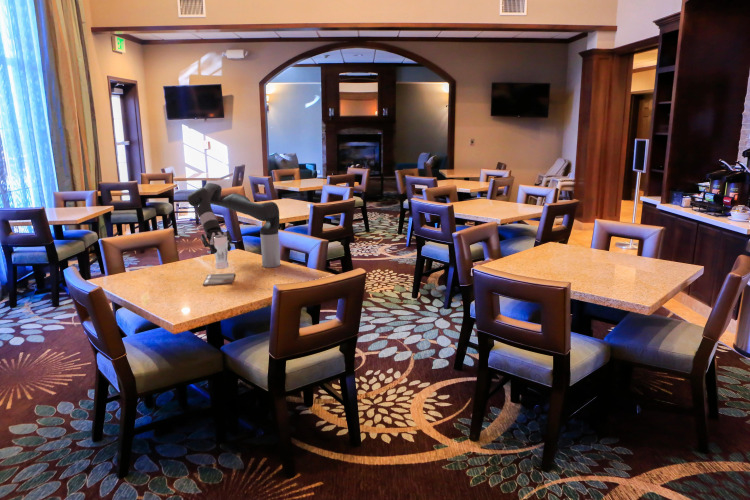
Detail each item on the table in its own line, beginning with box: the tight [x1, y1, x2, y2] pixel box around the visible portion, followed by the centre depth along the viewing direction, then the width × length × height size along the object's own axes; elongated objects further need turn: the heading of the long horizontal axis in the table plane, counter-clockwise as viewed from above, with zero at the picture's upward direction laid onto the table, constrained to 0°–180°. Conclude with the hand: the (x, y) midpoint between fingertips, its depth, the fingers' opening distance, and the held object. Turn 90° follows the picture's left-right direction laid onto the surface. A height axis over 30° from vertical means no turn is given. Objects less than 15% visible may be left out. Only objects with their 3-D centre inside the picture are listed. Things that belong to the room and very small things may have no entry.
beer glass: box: [212, 235, 230, 270], centre depth 256 cm, size 7×7×15 cm
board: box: [202, 272, 236, 287], centre depth 259 cm, size 17×13×1 cm
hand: (222, 251), depth 255 cm, fingers closed on beer glass, 7 cm apart
